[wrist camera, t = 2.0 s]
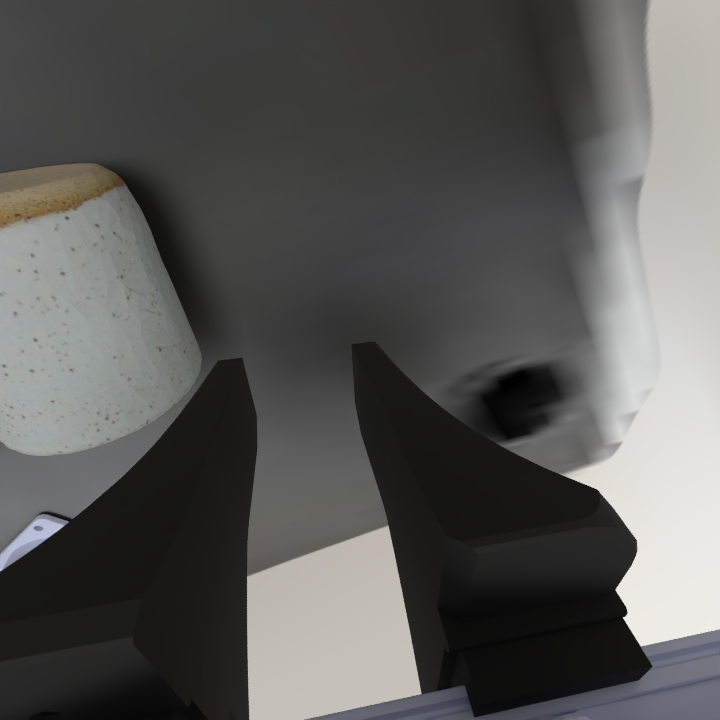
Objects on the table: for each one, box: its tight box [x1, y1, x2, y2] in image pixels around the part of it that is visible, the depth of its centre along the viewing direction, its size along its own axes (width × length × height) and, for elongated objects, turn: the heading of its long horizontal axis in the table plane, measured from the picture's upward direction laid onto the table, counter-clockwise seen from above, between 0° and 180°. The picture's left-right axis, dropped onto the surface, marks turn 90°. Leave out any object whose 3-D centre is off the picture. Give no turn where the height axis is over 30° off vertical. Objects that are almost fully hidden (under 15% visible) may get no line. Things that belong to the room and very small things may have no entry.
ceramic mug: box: [0, 163, 202, 456], centre depth 15 cm, size 11×8×8 cm
